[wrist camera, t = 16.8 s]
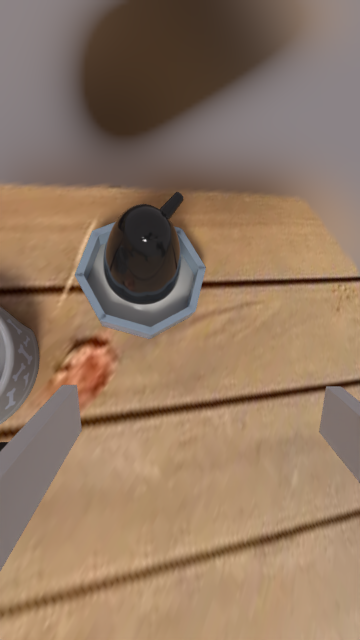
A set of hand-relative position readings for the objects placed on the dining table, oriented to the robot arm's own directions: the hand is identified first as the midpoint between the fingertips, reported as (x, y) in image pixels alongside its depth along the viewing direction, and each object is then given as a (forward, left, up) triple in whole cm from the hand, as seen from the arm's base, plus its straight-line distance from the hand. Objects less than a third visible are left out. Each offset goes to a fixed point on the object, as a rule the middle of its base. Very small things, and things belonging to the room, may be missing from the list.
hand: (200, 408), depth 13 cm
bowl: (-6, -15, -23) cm, 29 cm away
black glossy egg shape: (-6, -15, -23) cm, 28 cm away
